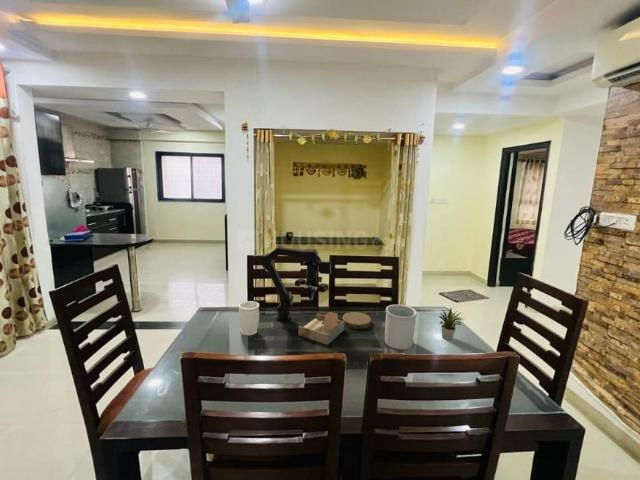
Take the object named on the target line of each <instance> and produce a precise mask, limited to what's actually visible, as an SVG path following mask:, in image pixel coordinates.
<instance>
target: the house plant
mask: <svg viewBox="0 0 640 480" xmlns="http://www.w3.org/2000/svg"><path fill="white" fill-rule="evenodd" d="M448 309H449V310H448V314H447V313H446V311H445V310H444V309H442V311H440V312H439V315H438V317H439V318H440V319H441V320H440V321H439V325H440V324H441V338H442V339H443V340H445V341H452V340H453V338H454V336H455V332H456V328H457V327H456V325H461V326H462V321H465V318H466V317H465V316H464V317H463V316H462V317H461V316H459V315H461V314H462V312H459V313H457V312H458V310H455V312H454V313H453V311H452V309H453V308H451V307H450V308H448ZM456 313H457V314H456ZM460 320H462V321H460Z"/></svg>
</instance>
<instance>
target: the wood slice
mask: <svg viewBox="0 0 640 480" xmlns="http://www.w3.org/2000/svg"><path fill="white" fill-rule="evenodd" d="M341 318H342V320H341V321H344V327H348V328H350V329H355V330H362V329H367V328H369V327H370V326H371V322H372V319H371V316H370V315H368V314H366V313H364V312H359V311H351V312H346V313H344V314H342V317H341Z"/></svg>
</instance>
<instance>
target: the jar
mask: <svg viewBox="0 0 640 480" xmlns="http://www.w3.org/2000/svg"><path fill="white" fill-rule="evenodd" d="M259 308H260V303H259V302H257V301H252V300H248V301H243V302H242V301H241V302H240V303H239V304H238V314H237V315H238V316H237V317H238V323H239V327H240V333H241V334H242V335H243V336H254V335H255V334H257V333H258V329H257V328H258V327H259V321H260V309H259Z"/></svg>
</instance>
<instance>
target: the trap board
mask: <svg viewBox="0 0 640 480" xmlns="http://www.w3.org/2000/svg"><path fill="white" fill-rule="evenodd" d="M324 318H325V315H322V314H320V313H315V318H314V319H312V320H311V321H310V322H308V323H307V324H306V325H304V326H301V325H298V328H297V330H298V331H297V332H298V333H297V334H298V335H297V336H301V337H303V338H307V339H310V340H311V341H315V342H317V341H316V331H318V332H322V331H323V330H324Z"/></svg>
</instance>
